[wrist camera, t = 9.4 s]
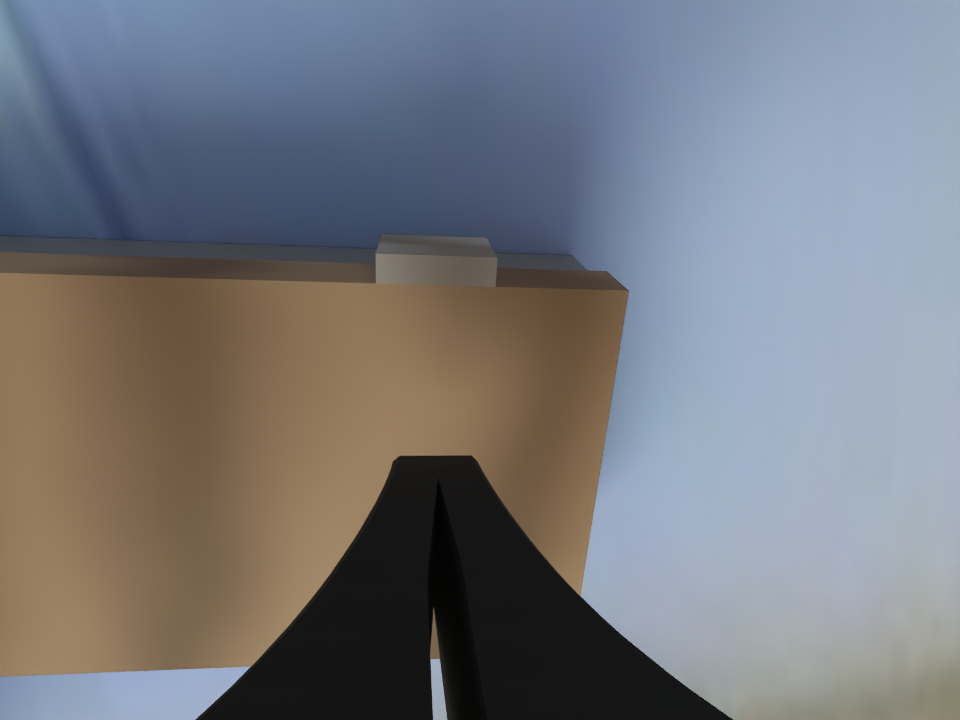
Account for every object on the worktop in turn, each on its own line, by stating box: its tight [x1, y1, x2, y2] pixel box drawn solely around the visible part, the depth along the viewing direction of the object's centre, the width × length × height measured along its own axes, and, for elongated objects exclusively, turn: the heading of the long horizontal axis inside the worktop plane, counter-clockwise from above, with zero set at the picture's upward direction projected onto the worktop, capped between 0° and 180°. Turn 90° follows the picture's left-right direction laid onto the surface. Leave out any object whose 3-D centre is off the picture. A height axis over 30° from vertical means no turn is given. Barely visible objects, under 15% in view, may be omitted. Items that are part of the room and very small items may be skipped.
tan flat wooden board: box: [0, 234, 629, 677], centre depth 14 cm, size 20×11×2 cm, turn 87°
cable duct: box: [0, 236, 587, 271], centre depth 16 cm, size 20×10×3 cm, turn 87°
